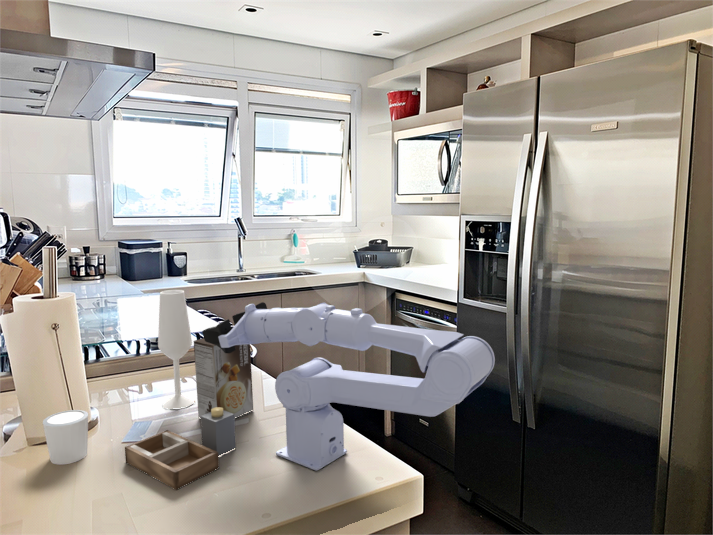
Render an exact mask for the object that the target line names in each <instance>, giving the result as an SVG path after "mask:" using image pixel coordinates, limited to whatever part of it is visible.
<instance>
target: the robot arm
mask: <svg viewBox="0 0 713 535" xmlns="http://www.w3.org/2000/svg"><path fill="white" fill-rule="evenodd" d="M231 317H232V320H233V325H234V326H233V327H232V325H231V320H230V319H229V318H228V319H225V320H223V321H221V322H219V323H218V324H217V325H216V326H212V327H211V326H210V327H208V328H205V329H203V330H202V332H201V333H202V335H203V338H204V340H205V341H206V342H208V343H211V344H214V345H216V346H218V347H219V348H221V349H222V350H223V351H224V353H231V352H233V351H235V350H236V349H235V345H245V344H250V345H257V344H260V343H261V344H262V343H292V342H293V343H296V342H299V343H301V344H302V345H303V344H304V345H306V346H307V347H312V346H313V347H314V346H315V345H318V344H319V343H320V342H321V343H325V344H327V345H332V346H337V347H341V348H346V349H351V350H356V351H361V352H364V351H367V350H368V349H369V348H371V347H372V346H375V347H379V348H383V349H387V350H389V351H395V352H398V353H403V354H407V355H410V356H413V357H415V358H416V362H417V364H418V367H419V369H420V371H421V372H422V373H423V374H424V373H426V374H425V377H424V378H421V377H411V376H402V375H392V374H382V373H373V372H363V371H357V370H356V371H355V370H345V369H343V367H342V365H341V364H336V363H332V362H330V361H329V360H328V359H327V358H324V357H314V358H312V359H311V360H310V361H308V362H305V363H304V364H300V365H299V366H296V367H295V368H292V369H290V370H289V369H288V370H286V371H283V372H280V373H279V374H278V376H277V377H276V379H275V383H274V390H275V394H276V396H277V399H278V400H279V402H280V403H281V404H282V407H283V408H284V409H285V429H286V430H285V434H286V436H285V437H286V438H285V439H286V445H285V446H284V447H282V448H280V449H279V450H277V451H275V455H276V456H279V457H281V458H282V459H283V458H284V459H286V460H288V461H291V462H294V463H295V464H298V465H300V466H303V467H305V468H308V469H310V470H314V471H319V470H321V469H323V467H326V466H328V465H329V464H330V463H332V462H334V461H335V460H337V459H339V458H340V457H342V456H343V455H345V454H347V452H348V451H347V449H346V448H345V438H344V436H345V434H344V433H345V432H344V429H345V428H344V425H345V424H344V418H343V415H342V413H341V412H340V411H339V410H337V409H335V408H333V407H332V405H331V404H330V403H337V404H342V405H347V406H348V405H349V406H354V407H355V406H357V407H361V408H362V407H363V408H369V409H370V408H371V409H377V410H384V411H389V412H390V411H391V412H396V413H403V414H409V415H416V416H417V415H418V416H422V417H429V418H431V417H436V416H439V415H441V414H442V413H443V412H445V411H447V410H449V409H450V408H452V407H454V406H455V405H459V404H460V403H461V402H462V401H464V399H465V398H467V397H468V396H469V395H470V394H471V393H473V391H475V390H477V388H479V387H480V386H481V385H483V383H484V382H485V381H486V379H487V377H489V375H490V374H491V372H492V371H493V369H494V367H495V361H496V358H495V353H494V350H493V348H492V347H491V345H490V344H489V343H488V342H487V341H486V340H484V339H483V338H481V337H479V336H475V335H469V336H468V335H467V336H465V337H463V336H464V335H465V334H464V333H460V332H457V331H449V330H448V331H447V330H437V329H427V328H426V329H425V328H419V327H418V328H417V327H412V326H402V325H395V324H385V323H377V321H376V319H375V318H374V316H372V315H371V314H369V313H364V312H363V309H362V308H358V307H355V308H352V309H350V310H347V309H346V310H345V309H339V308H336V306H335V305H333V304H331V305H330V304H328V303H326V302H321V303H318V304H316V305H314V306H310V307H285V308H284V307H272V308H268V306H267V304H266V303H265V302H263V301H262V302H260V303H258V304H256V305H255V303H249V304H248V305H247V304H246V305H245V307H244V311H242V312H239V313H236V314H234V315H232V316H231ZM461 337H462V338H461ZM460 338H461V339H460Z"/></svg>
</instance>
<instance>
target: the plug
mask: <svg viewBox="0 0 713 535" xmlns="http://www.w3.org/2000/svg"><path fill="white" fill-rule="evenodd" d="M235 420H236V419H235V418H234V414H233V413H230V412H227V411H224V410H223V408H221V407H216V408H213V409H211V412H210V413H207V414H205V415H202V416H201V420H200V432H201V445H203V446H205V447H207V448H210V449H212V450H214V451H217V452H218V456H219V455H221V454H223V453H226V452H228V451H230V450H232V449H234V448H236V449H237V447H236V446H237V445H236V444H237V443H236V442H237V441H236V424H235V422H236V421H235Z"/></svg>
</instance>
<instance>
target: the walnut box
mask: <svg viewBox="0 0 713 535" xmlns="http://www.w3.org/2000/svg"><path fill="white" fill-rule="evenodd" d="M124 459H125V463H126V464H127V463H128V464H127V465H128V466H131V467H132V466H133V468H134V467H135V468H134V469H136V468H137V469H136V470H138V469H139V470H138V471H140V470H141V471H140V472H142V471H143V472H142V473H144V472H145V473H147V474H148V475H147V474H146V475H147V476H149V475H150V476H149V477H151V476H152V477H151V478H153V477H154V478H153V479H155V478H156V479H158V480H160V481H161V482H160V481H159V482H160V483H162V482H163V484H164V483H165V484H164V485H166V486H167V487H169V486H170V487H169V488H171V487H172V489H173V488H174V489H173V490H175V491H177V490H179V489H181V488H183V487H185V486H187V485H189V484H191V483H193V482H195V481H197V480H199V479H201V478H203V477H205V476H207V475H209V474H211V473H213V472H215V471H216V470H215V469H217V468H218V467H219V468H220V461H219V459H220V458H219V457H218V452H217V451H214V450H212V449H210V448H207V447H205V446H203V445H202V443H201V444H200V443H199V442H196V441H193V440H191V439H189V438H187V437H185V436H182V435H180V434H178V433H175V432H173V431H171V430H168V429H167V430H164V431H161V432H158V433H156V434H154V435H150V436H149V437H147V438H144V439H143V438H142V440H138V441H136V442H134V443H131V444H127V445H126V446H124ZM214 470H215V471H214ZM217 470H218V469H217ZM212 471H213V472H212ZM210 472H211V473H210ZM145 473H144V474H145ZM208 473H209V474H208ZM206 474H207V475H206ZM204 475H205V476H204ZM202 476H203V477H202ZM200 477H201V478H200ZM198 478H199V479H198ZM156 479H155V480H156ZM158 480H157V481H158ZM192 481H193V482H192ZM190 482H191V483H190ZM188 483H189V484H188ZM186 484H187V485H186ZM184 485H185V486H184ZM182 486H183V487H182ZM180 487H181V488H180ZM178 488H179V489H178Z"/></svg>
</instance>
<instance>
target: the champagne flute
mask: <svg viewBox="0 0 713 535" xmlns="http://www.w3.org/2000/svg"><path fill="white" fill-rule="evenodd" d="M158 310H159V312H158V335H157V336H158V338H157V339H158V340H157V346H158V349H159V350H160V352H161V353H162V354H164V356H166V357H167V358H169V359H170V360H172V362H173V363H172V364H173V365H172V366H173V379H174V380H173V381H174V382H173V383H174V395H173V396H172V397H171V398H169V399H168V400H166V401H165V402H163V403H162V404H163V407H164V408H168V409H173V408H181V407H186V406H189V405H191V404H193V403H194V401H195V399H193V398H190V397H188V396H185V395H183V394H182V392H181V390H182V389H181V373H180V372H181V370H180V359H181V358H183V357H184V356H185V355H186V354H187V353H188V352H189V350H190V349H191V347H192V345H193V340H192V333H191V327H190V320H189V314H188V308H187V302H186V294H185V290H184V289H183V290H182V289H169V290H167V289H166V290H163V291H160V293H159V309H158ZM194 404H195V403H194ZM163 407H162V408H163ZM164 408H163V409H164Z"/></svg>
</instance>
